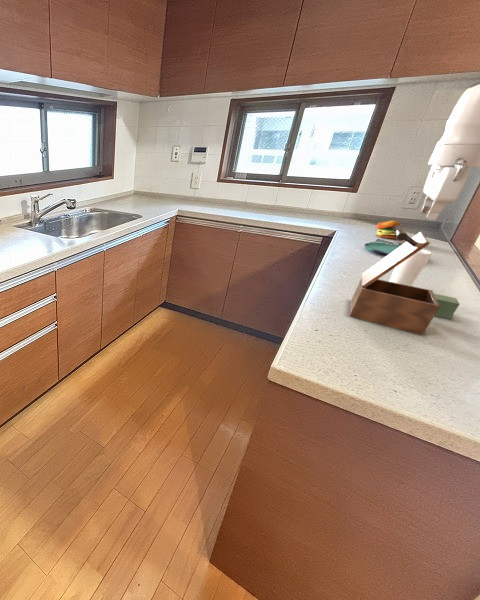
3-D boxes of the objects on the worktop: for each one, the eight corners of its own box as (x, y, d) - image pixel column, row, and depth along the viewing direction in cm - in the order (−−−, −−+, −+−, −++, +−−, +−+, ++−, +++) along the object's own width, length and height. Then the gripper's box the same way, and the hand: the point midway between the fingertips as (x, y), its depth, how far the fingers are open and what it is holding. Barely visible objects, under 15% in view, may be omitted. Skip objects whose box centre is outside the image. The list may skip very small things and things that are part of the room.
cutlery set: (358, 251, 150) (360, 247, 149) (371, 240, 168) (373, 236, 167) (416, 263, 137) (419, 258, 136) (423, 250, 155) (426, 245, 154)
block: (447, 312, 98) (456, 298, 95) (450, 319, 94) (459, 304, 92) (424, 307, 100) (432, 293, 98) (426, 313, 97) (435, 298, 95)
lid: (423, 233, 88) (404, 221, 89) (429, 243, 79) (409, 230, 80) (364, 275, 99) (348, 264, 100) (364, 288, 90) (347, 275, 91)
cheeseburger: (395, 240, 168) (398, 221, 165) (370, 240, 177) (372, 221, 175) (404, 238, 172) (407, 219, 170) (379, 238, 181) (381, 219, 179)
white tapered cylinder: (403, 290, 111) (426, 249, 104) (412, 298, 106) (436, 255, 99) (379, 287, 114) (399, 246, 107) (386, 294, 108) (408, 251, 101)
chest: (416, 317, 95) (432, 290, 91) (422, 335, 86) (439, 306, 82) (350, 301, 103) (362, 275, 99) (349, 316, 94) (362, 288, 90)
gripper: (487, 160, 69) (452, 225, 75) (465, 157, 83) (437, 211, 89) (445, 159, 72) (416, 221, 78) (431, 156, 87) (407, 208, 93)
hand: (427, 216), depth 84 cm, fingers open, 8 cm apart
